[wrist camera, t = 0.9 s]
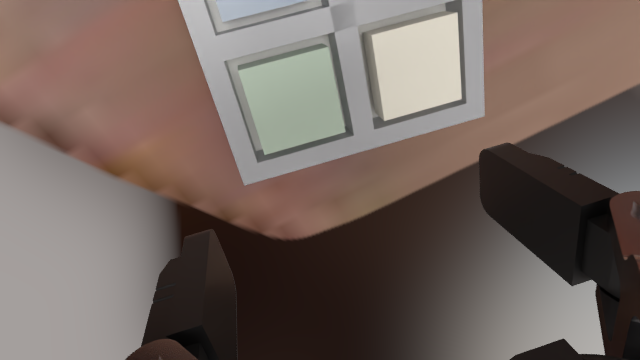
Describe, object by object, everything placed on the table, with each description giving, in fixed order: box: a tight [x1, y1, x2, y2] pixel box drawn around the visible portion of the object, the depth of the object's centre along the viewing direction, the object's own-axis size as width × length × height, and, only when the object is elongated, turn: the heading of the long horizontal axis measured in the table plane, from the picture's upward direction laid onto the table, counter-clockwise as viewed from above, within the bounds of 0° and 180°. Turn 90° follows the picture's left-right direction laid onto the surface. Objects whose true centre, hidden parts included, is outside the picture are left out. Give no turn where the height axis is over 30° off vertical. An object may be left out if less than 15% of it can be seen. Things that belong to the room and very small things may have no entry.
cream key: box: [363, 11, 462, 121], centre depth 23 cm, size 5×5×2 cm
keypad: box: [178, 0, 485, 186], centre depth 23 cm, size 16×16×4 cm
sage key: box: [238, 43, 346, 155], centre depth 23 cm, size 5×5×2 cm
